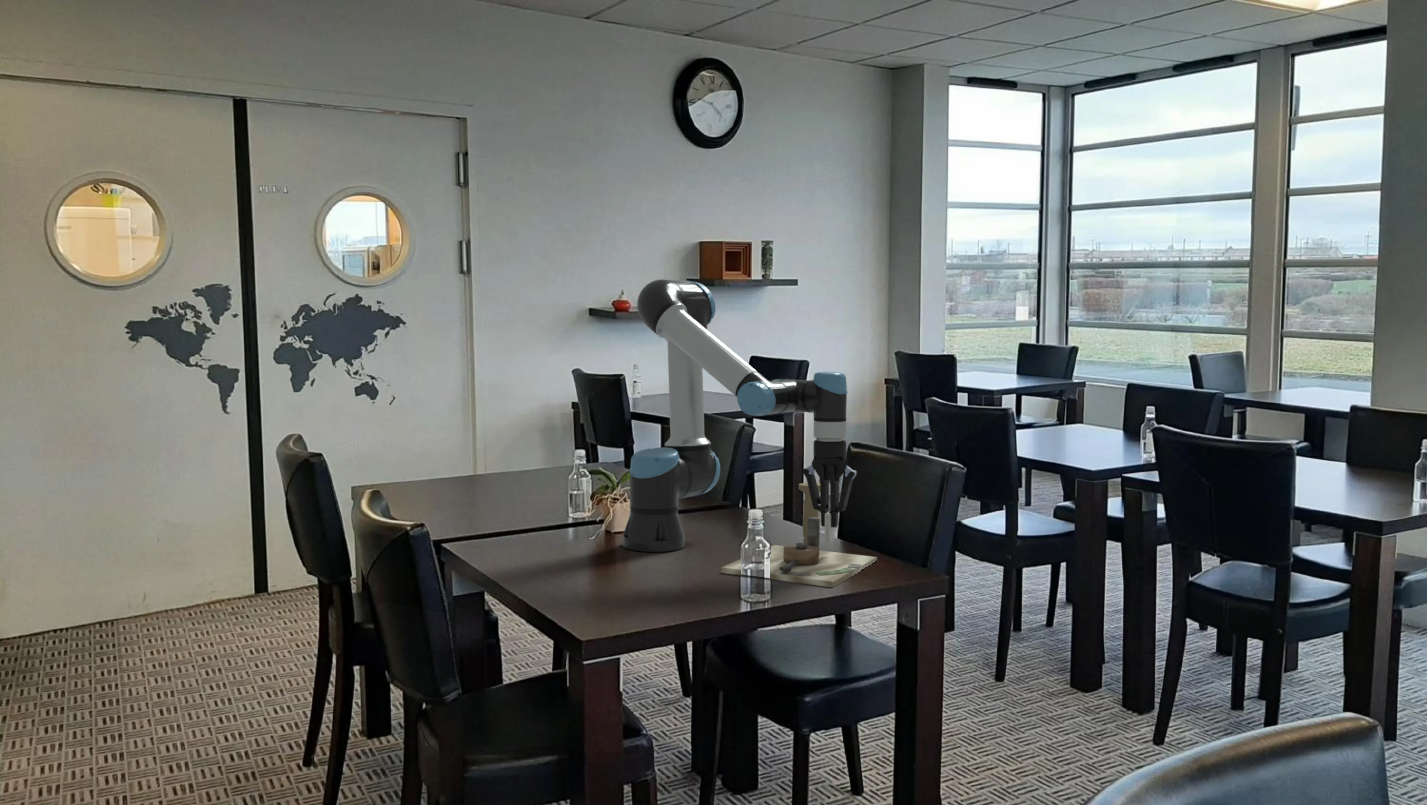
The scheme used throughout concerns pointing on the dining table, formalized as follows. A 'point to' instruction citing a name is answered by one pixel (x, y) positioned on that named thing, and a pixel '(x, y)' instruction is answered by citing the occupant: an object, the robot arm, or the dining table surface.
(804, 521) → the handle
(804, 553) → the brown handled round piece
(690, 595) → the dining table surface
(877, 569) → the dining table surface
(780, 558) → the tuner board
